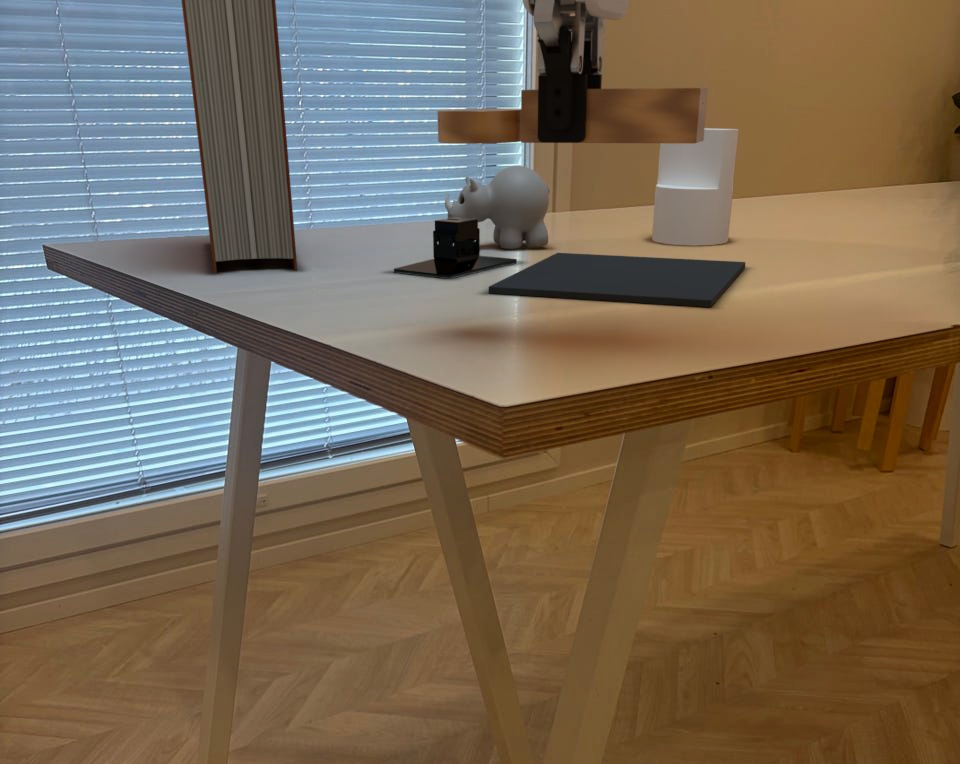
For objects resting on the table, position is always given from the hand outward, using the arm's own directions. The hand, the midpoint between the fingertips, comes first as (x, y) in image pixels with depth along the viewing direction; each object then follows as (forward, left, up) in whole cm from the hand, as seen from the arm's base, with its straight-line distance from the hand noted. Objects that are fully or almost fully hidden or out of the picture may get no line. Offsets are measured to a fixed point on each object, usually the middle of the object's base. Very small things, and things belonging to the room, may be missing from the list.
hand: (569, 137), depth 71 cm
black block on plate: (+19, -28, -14) cm, 37 cm away
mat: (+1, -26, -13) cm, 29 cm away
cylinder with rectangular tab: (0, -56, -14) cm, 57 cm away
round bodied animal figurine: (+20, -43, -14) cm, 49 cm away
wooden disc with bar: (0, 0, 0) cm, 0 cm away
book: (+44, -28, -14) cm, 54 cm away
